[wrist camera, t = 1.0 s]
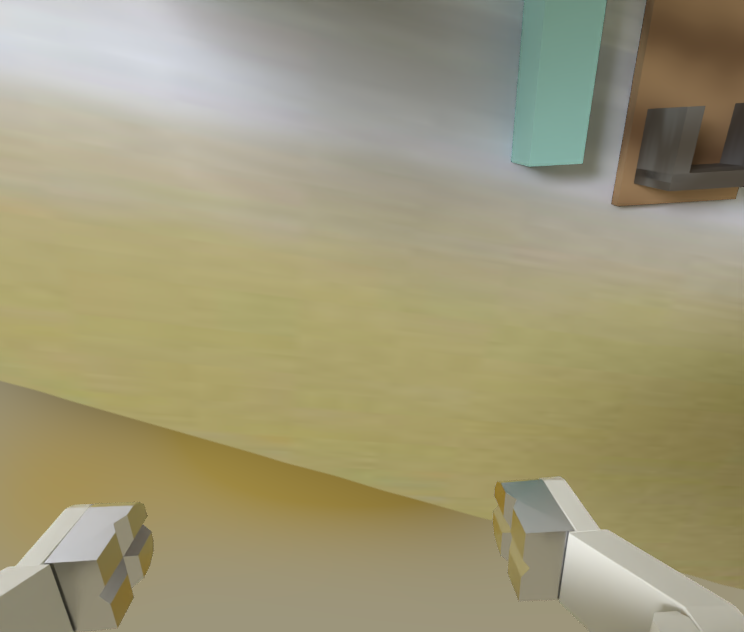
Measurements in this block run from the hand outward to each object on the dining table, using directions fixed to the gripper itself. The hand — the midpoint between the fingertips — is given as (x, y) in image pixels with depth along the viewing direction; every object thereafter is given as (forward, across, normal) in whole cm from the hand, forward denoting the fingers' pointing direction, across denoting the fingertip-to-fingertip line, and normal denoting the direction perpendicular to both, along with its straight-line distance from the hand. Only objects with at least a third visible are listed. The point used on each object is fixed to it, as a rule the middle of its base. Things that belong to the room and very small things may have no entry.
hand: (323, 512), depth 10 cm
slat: (+28, -16, -16) cm, 37 cm away
